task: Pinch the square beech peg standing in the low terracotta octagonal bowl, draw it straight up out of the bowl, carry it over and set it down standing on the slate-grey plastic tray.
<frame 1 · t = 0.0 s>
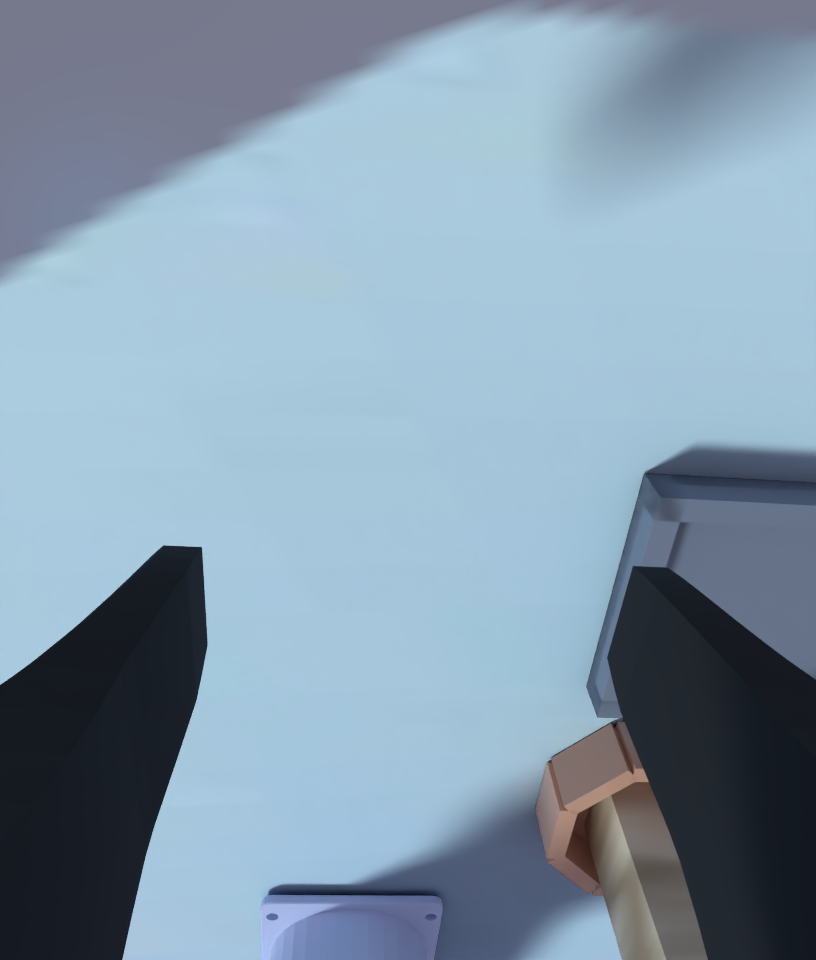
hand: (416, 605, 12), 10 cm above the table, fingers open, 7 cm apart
beech peg: (634, 798, 30), resting on terracotta octagonal bowl
terracotta octagonal bowl: (630, 787, 30), on the table
slate tray: (779, 595, 26), on the table
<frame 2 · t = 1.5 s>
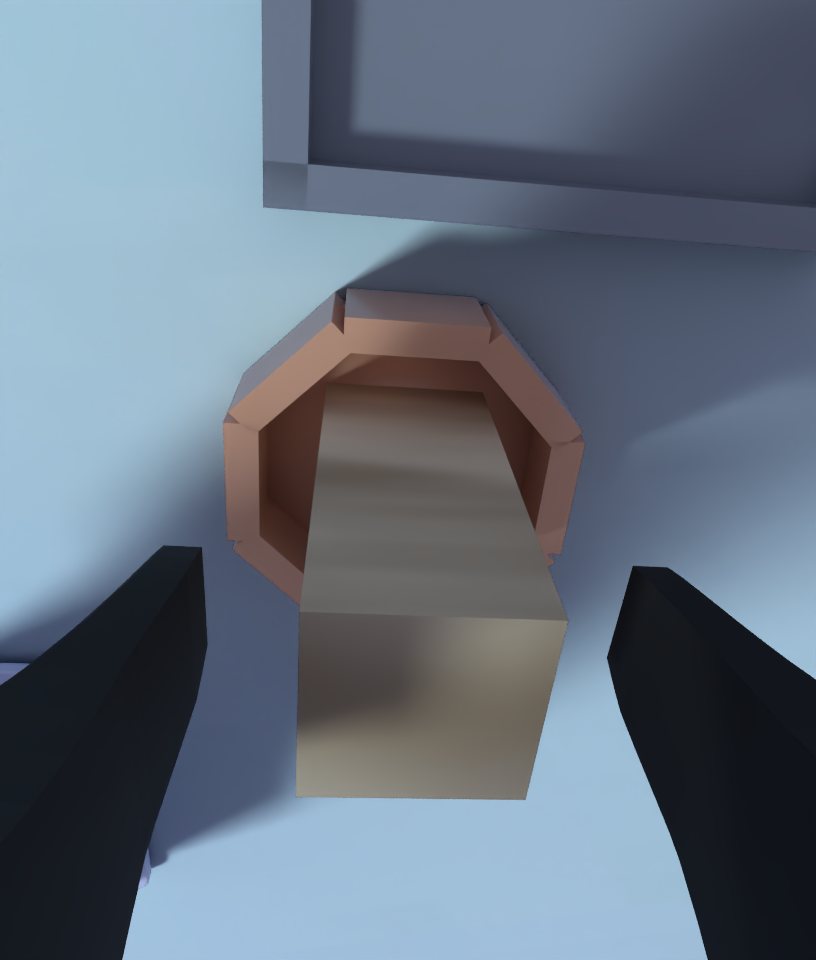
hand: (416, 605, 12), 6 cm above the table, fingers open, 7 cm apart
beech peg: (399, 456, 17), resting on terracotta octagonal bowl
terracotta octagonal bowl: (398, 447, 18), on the table
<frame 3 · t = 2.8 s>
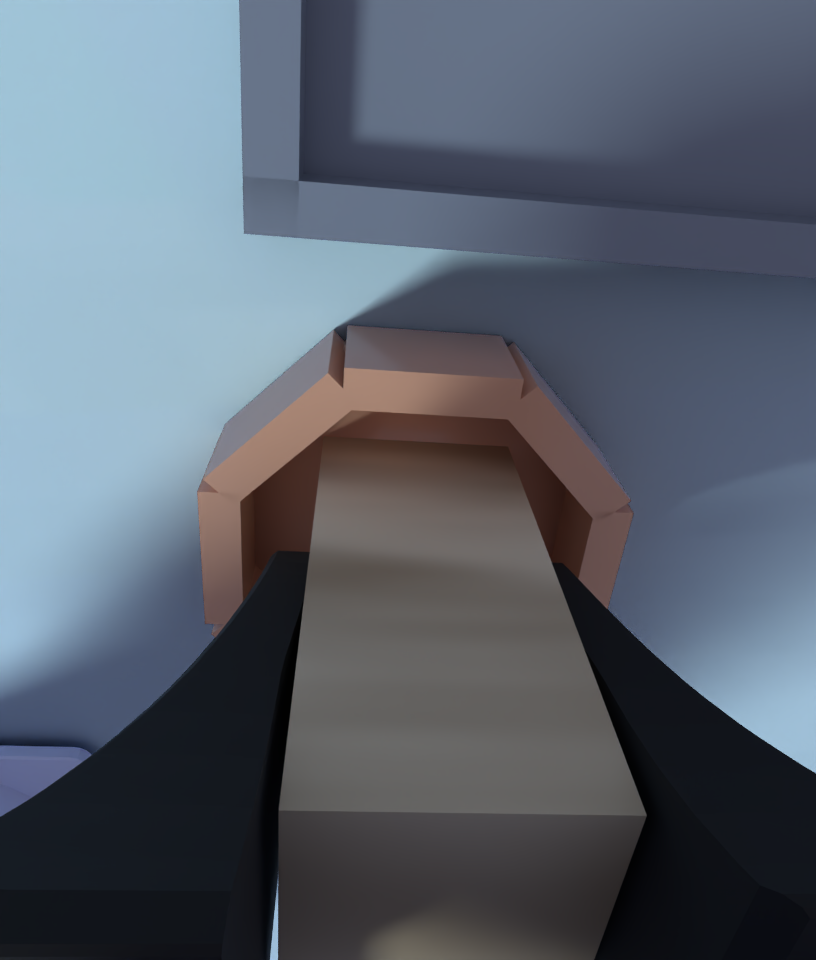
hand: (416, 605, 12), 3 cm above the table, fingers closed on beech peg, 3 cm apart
beech peg: (408, 520, 15), resting on terracotta octagonal bowl, touching gripper
terracotta octagonal bowl: (407, 507, 15), on the table
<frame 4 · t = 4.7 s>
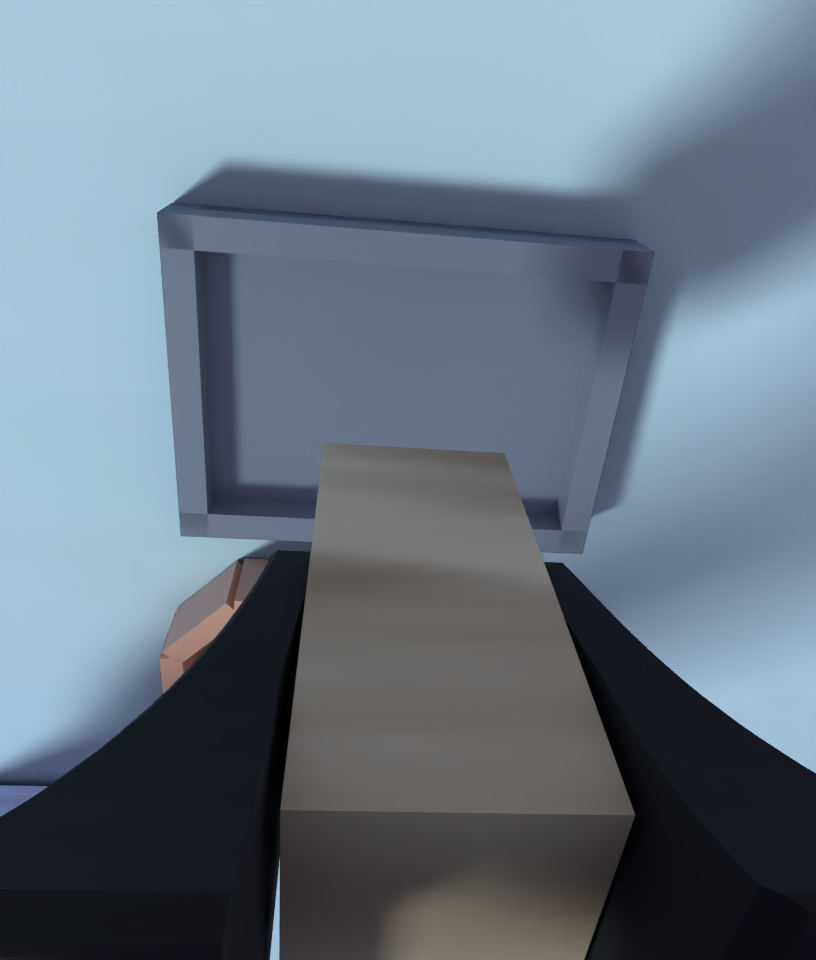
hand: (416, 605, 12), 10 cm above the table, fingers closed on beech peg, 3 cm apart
beech peg: (407, 524, 15), point 7 cm above the table, touching gripper
terracotta octagonal bowl: (287, 648, 26), on the table
slate tray: (396, 385, 21), on the table
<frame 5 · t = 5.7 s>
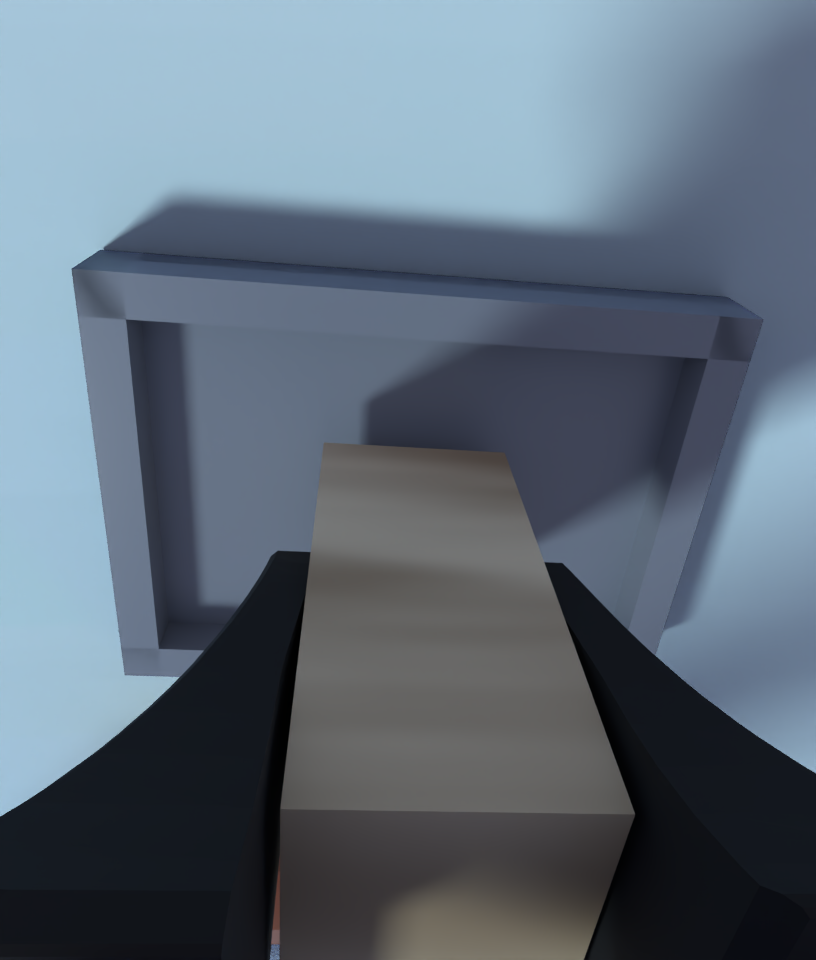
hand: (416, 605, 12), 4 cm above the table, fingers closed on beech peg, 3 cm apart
beech peg: (407, 524, 15), point 1 cm above the table, touching gripper
terracotta octagonal bowl: (269, 786, 21), on the table
slate tray: (405, 481, 16), on the table
when the fingers open (4 cm above the table, at t = 6.4 s): beech peg stays where it is, resting on slate tray.
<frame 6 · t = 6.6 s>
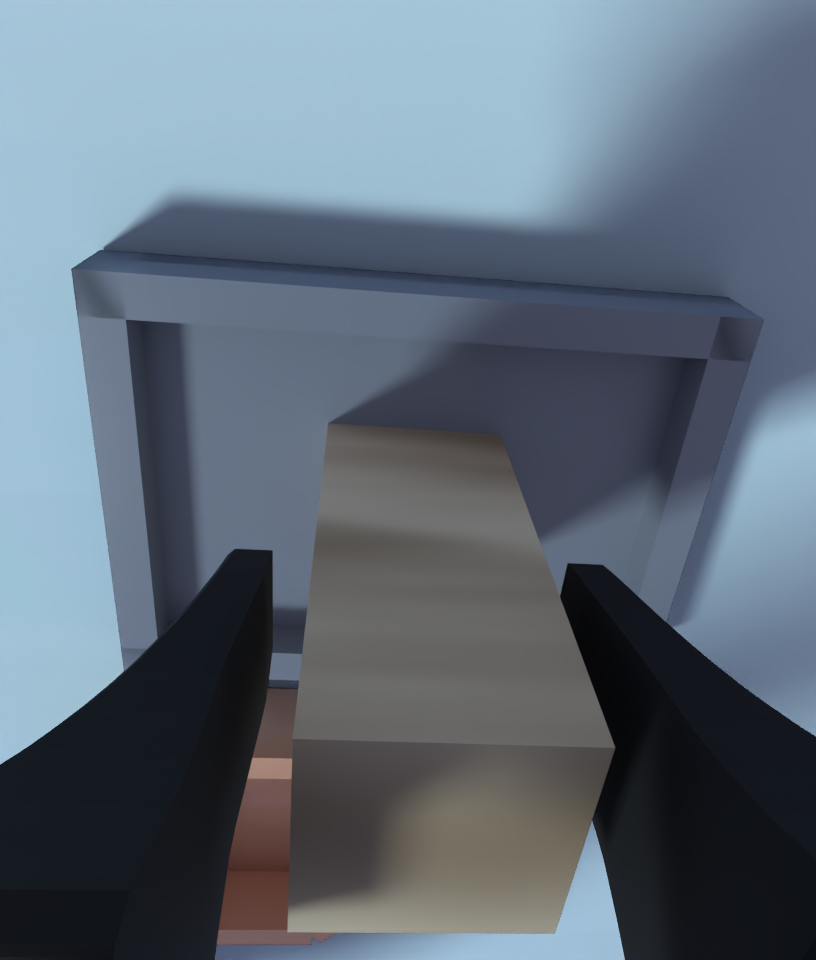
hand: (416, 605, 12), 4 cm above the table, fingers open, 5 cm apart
beech peg: (406, 503, 16), point 1 cm above the table, touching slate tray
terracotta octagonal bowl: (269, 787, 21), on the table
slate tray: (405, 481, 16), on the table
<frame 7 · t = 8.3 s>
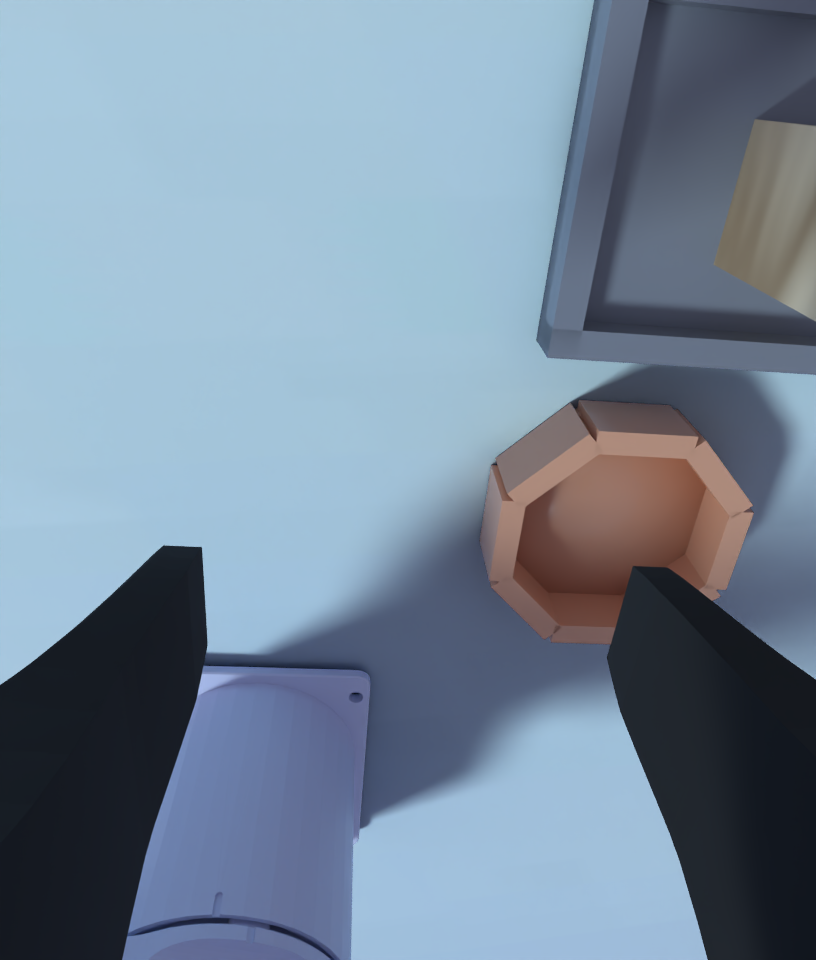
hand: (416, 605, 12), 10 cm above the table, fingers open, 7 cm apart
beech peg: (798, 201, 19), point 1 cm above the table, touching slate tray
terracotta octagonal bowl: (599, 509, 24), on the table
slate tray: (788, 189, 19), on the table
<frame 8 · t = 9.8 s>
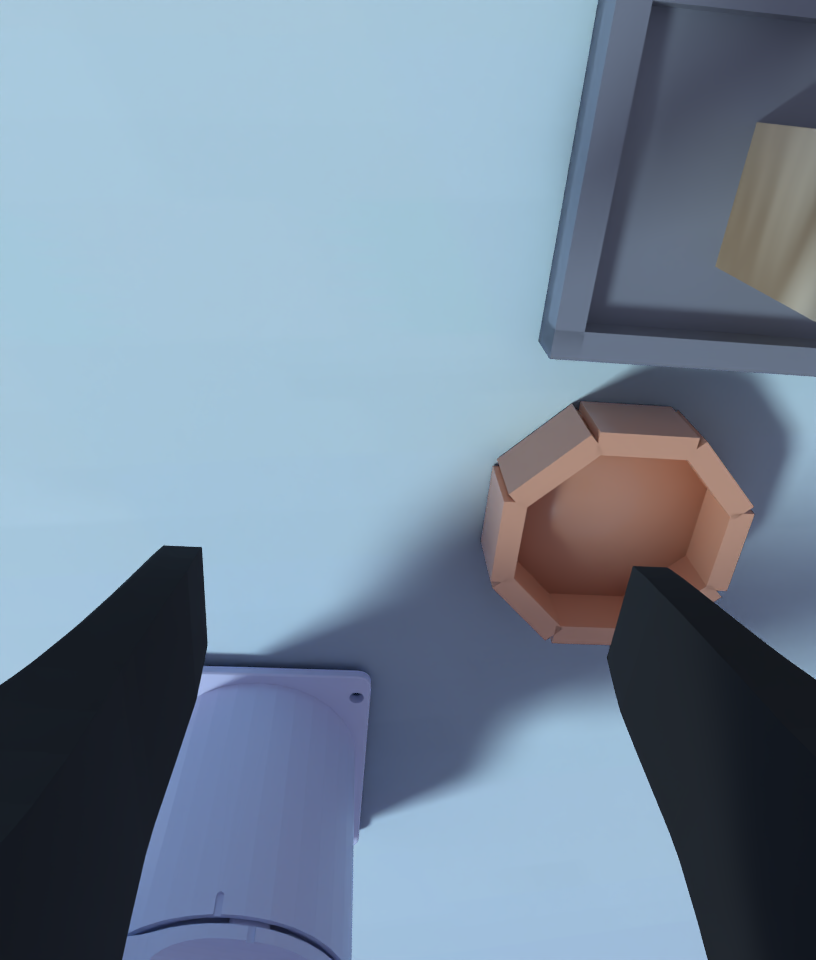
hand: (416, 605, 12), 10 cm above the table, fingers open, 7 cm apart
beech peg: (799, 203, 19), point 1 cm above the table, touching slate tray
terracotta octagonal bowl: (600, 510, 24), on the table
slate tray: (789, 192, 19), on the table
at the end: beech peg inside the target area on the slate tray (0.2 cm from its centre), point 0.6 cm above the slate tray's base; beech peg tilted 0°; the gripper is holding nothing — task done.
